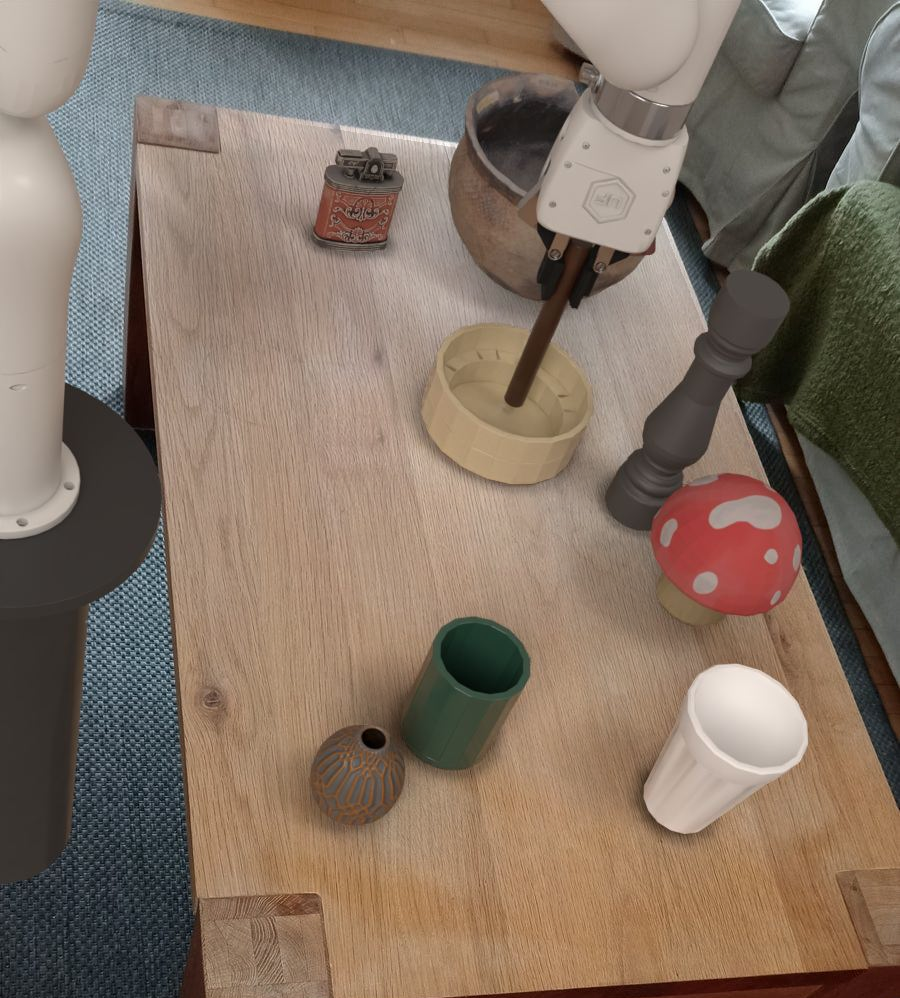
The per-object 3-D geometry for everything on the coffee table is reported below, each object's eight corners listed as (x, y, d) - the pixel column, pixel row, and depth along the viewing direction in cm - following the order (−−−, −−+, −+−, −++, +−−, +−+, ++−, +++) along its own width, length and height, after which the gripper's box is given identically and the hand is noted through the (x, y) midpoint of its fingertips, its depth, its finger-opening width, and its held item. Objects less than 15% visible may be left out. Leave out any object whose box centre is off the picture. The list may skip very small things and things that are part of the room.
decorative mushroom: (641, 675, 114) (718, 565, 102) (594, 556, 120) (661, 438, 108) (769, 667, 119) (857, 561, 107) (718, 553, 125) (796, 439, 113)
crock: (397, 761, 103) (431, 689, 94) (402, 683, 107) (435, 607, 98) (489, 777, 104) (530, 708, 96) (490, 700, 108) (530, 627, 100)
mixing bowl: (416, 467, 120) (434, 419, 115) (422, 355, 128) (439, 306, 123) (572, 503, 123) (596, 458, 118) (569, 392, 131) (591, 346, 126)
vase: (284, 803, 98) (306, 740, 91) (335, 745, 102) (360, 680, 95) (359, 856, 97) (388, 797, 90) (408, 795, 101) (438, 734, 94)
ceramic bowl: (650, 275, 145) (710, 153, 133) (574, 375, 133) (633, 250, 120) (480, 174, 145) (524, 42, 133) (388, 263, 133) (427, 128, 121)
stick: (503, 404, 124) (570, 244, 110) (504, 390, 125) (570, 230, 111) (523, 410, 125) (593, 251, 110) (523, 395, 126) (592, 236, 111)
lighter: (381, 231, 135) (405, 143, 127) (390, 253, 134) (415, 166, 126) (306, 227, 132) (326, 137, 124) (315, 250, 131) (335, 160, 123)
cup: (690, 879, 105) (768, 798, 94) (597, 796, 106) (663, 707, 96) (752, 809, 110) (832, 725, 100) (662, 731, 112) (732, 640, 101)
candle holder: (677, 515, 126) (807, 306, 106) (637, 540, 123) (764, 330, 102) (632, 473, 127) (752, 258, 107) (592, 496, 124) (708, 280, 104)
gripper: (544, 95, 96) (471, 299, 111) (741, 156, 100) (644, 345, 115) (544, 40, 100) (473, 243, 115) (733, 100, 104) (640, 290, 119)
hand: (559, 293), depth 115 cm, fingers closed on stick, 2 cm apart
